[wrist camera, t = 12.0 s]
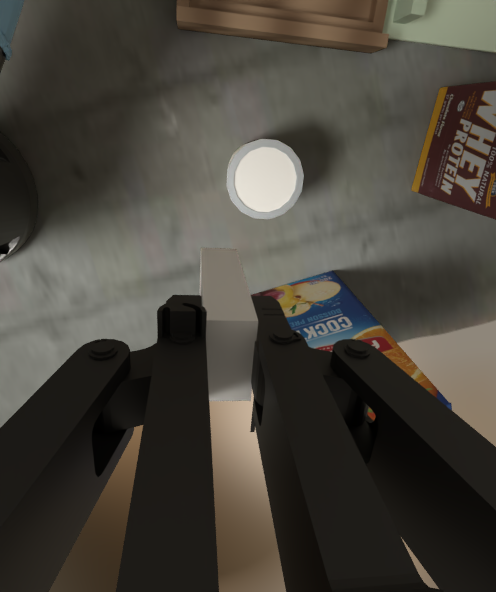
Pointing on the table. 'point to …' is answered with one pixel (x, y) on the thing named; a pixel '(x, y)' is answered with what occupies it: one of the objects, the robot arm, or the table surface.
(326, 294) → the juice carton
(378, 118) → the table surface
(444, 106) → the supplement box
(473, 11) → the lid
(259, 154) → the white cup
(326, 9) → the box
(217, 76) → the table surface
